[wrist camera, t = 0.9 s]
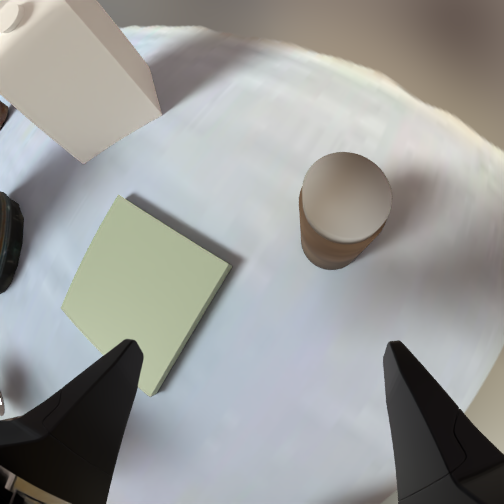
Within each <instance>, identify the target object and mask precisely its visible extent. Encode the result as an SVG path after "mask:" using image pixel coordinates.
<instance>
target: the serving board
mask: <svg viewBox="0 0 504 504" xmlns="http://www.w3.org/2000/svg"><path fill="white" fill-rule="evenodd" d="M231 268H232V266H231V265H229V264H228V263H226V262H225V261H223V260H221V259H220V258H218V257H216V256H215V255H213V254H212V253H210V252H208V251H207V250H205V249H203V248H202V247H200V246H199V245H197V244H195V243H194V242H192V241H191V240H189V239H187V238H186V237H184V236H183V235H181V234H179V233H178V232H176V231H175V230H173V229H171V228H170V227H168V226H167V225H165V224H163V223H162V222H160V221H159V220H157V219H156V218H154V217H152V216H151V215H149V214H148V213H146V212H145V211H143V210H141V209H140V208H138V207H137V206H135V205H134V204H132V203H131V202H129V201H127V200H126V199H124V198H123V197H121V196H120V195H118V196H117V198H116V199H115V201H114V203H113V204H112V206H111V208H110V210H109V211H108V213H107V215H106V216H105V218H104V220H103V222H102V223H101V225H100V227H99V229H98V231H97V233H96V234H95V236H94V238H93V240H92V242H91V244H90V246H89V248H88V250H87V252H86V254H85V256H84V258H83V260H82V262H81V264H80V266H79V268H78V270H77V272H76V274H75V276H74V279H73V281H72V283H71V285H70V288H69V290H68V292H67V294H66V297H65V299H64V302H63V304H62V306H61V309H62V310H63V312H64V313H65V314H66V315H67V316H68V317H69V319H70V320H71V321H72V322H73V323H74V324H75V326H76V327H77V328H78V329H79V330H80V331H81V332H82V333H83V334H84V335H85V337H86V338H87V339H88V340H89V341H90V342H91V343H92V344H93V345H94V346H95V347H96V348H97V349H98V350H99V351H100V352H101V353H102V354H103V355H105V354H106V353H108V352H109V351H110V350H111V349H113V348H114V347H115V346H117V345H118V344H119V343H120V342H122V341H123V340H125V339H133V340H135V341H136V342H137V343H138V345H139V347H140V349H141V350H142V352H143V355H144V360H143V364H142V369H141V373H140V378H139V383H138V388H140V389H141V390H142V391H143V392H144V393H146V394H147V395H148V396H149V397H151V396H153V395H155V394H157V392H158V390H159V388H160V387H161V385H162V383H163V382H164V380H165V378H166V377H167V375H168V373H169V371H170V370H171V368H172V366H173V365H174V363H175V361H176V360H177V358H178V356H179V355H180V353H181V351H182V350H183V348H184V346H185V344H186V343H187V341H188V339H189V338H190V336H191V334H192V333H193V331H194V329H195V328H196V326H197V324H198V323H199V321H200V319H201V318H202V316H203V314H204V313H205V311H206V309H207V308H208V306H209V304H210V303H211V301H212V299H213V298H214V296H215V294H216V293H217V291H218V289H219V288H220V286H221V284H222V283H223V281H224V279H225V278H226V276H227V274H228V273H229V271H230V269H231Z"/></svg>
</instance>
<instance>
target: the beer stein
mask: <svg viewBox="0 0 504 504" xmlns="http://www.w3.org/2000/svg"><path fill="white" fill-rule="evenodd" d="M23 222H24V218H23V215H22V213H21V210H20V207H19V204H18V203H16V202H15V201H13V200H12V199H10V198H9V197H8V196H7V195H6V194H5V193H4V192H0V294H1V293H3V292H5V290H6V289H7V288H8V286H9V285H10V284H11V282H12V279H13V276H14V274H15V271H16V268H17V266H18V261H19V256H20V251H21V246H22V238H23Z"/></svg>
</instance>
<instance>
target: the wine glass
mask: <svg viewBox="0 0 504 504" xmlns="http://www.w3.org/2000/svg"><path fill="white" fill-rule="evenodd" d="M3 415H4V403H3V398H2V395H1V392H0V416H3Z"/></svg>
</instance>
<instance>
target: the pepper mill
mask: <svg viewBox="0 0 504 504" xmlns="http://www.w3.org/2000/svg"><path fill="white" fill-rule="evenodd" d="M391 206H392V192H391V187H390V184H389V182H388V180H387V178H386V176H385V174H384V173H383V172H382V170H381V169H380V168H379V167H378V166H377V165H376V164H375V163H373V162H372V161H371V160H369V159H367V158H365V157H363V156H361V155H358V154H355V153H349V152H337V153H332V154H329V155H326V156H324V157H322V158H320V159H319V160H317V161H316V162H315V163H314V164H313V165H312V166H311V167H310V168H309V170H308V171H307V173H306V175H305V178H304V181H303V186H302V188H301V191H300V196H299V212H300V229H301V244H302V248H303V251H304V253H305V255H306V257H307V258H308V259H309V260H310V261H311V262H312V263H313V264H314V265H316V266H318V267H320V268H323V269H327V270H336V269H340V268H343V267H345V266H347V265H348V264H350V263H351V262H352V261H353V260H354V259H355V258H356V257H357V256H358V255H359V254H360V253H361V252H362V251H363V250H364V249H365V248H366V247H367V246H368V245H369V244H370V243H371V242H372V241H373V240H374V239H375V238H376V237H377V236H378V235H379V233H380V232H381V231H382V229H383V227H384V225H385V223H386V220H387V217H388V215H389V213H390V210H391Z"/></svg>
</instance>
